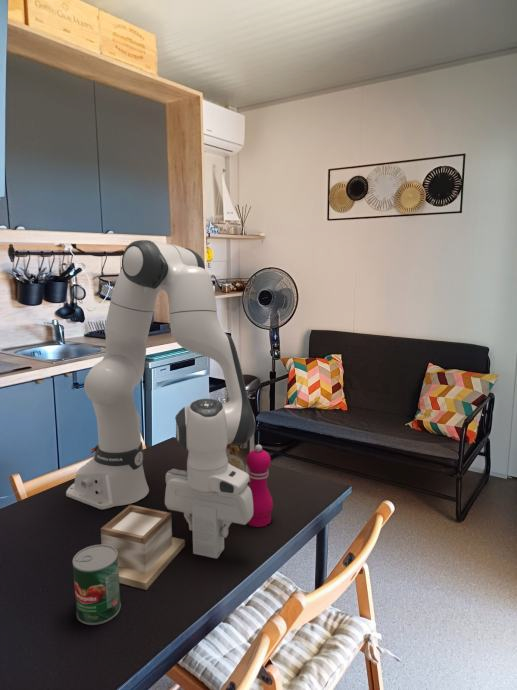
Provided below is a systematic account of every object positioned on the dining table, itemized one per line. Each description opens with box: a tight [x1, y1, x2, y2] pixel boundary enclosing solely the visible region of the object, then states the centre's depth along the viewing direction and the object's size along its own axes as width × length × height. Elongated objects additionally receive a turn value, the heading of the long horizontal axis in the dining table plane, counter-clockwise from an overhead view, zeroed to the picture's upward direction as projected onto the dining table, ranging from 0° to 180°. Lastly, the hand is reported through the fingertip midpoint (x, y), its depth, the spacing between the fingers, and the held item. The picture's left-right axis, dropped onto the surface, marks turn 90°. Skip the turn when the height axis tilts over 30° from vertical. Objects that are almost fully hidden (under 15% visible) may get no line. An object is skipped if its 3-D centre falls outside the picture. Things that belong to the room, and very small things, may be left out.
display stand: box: [100, 504, 186, 591], centre depth 107 cm, size 14×16×9 cm
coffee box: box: [226, 433, 255, 483], centre depth 146 cm, size 9×6×16 cm
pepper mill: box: [246, 444, 274, 528], centre depth 122 cm, size 7×7×20 cm
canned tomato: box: [72, 544, 122, 626], centre depth 92 cm, size 8×8×11 cm
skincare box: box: [192, 504, 225, 559], centre depth 110 cm, size 6×4×12 cm
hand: (208, 532), depth 110 cm, fingers closed on skincare box, 6 cm apart
